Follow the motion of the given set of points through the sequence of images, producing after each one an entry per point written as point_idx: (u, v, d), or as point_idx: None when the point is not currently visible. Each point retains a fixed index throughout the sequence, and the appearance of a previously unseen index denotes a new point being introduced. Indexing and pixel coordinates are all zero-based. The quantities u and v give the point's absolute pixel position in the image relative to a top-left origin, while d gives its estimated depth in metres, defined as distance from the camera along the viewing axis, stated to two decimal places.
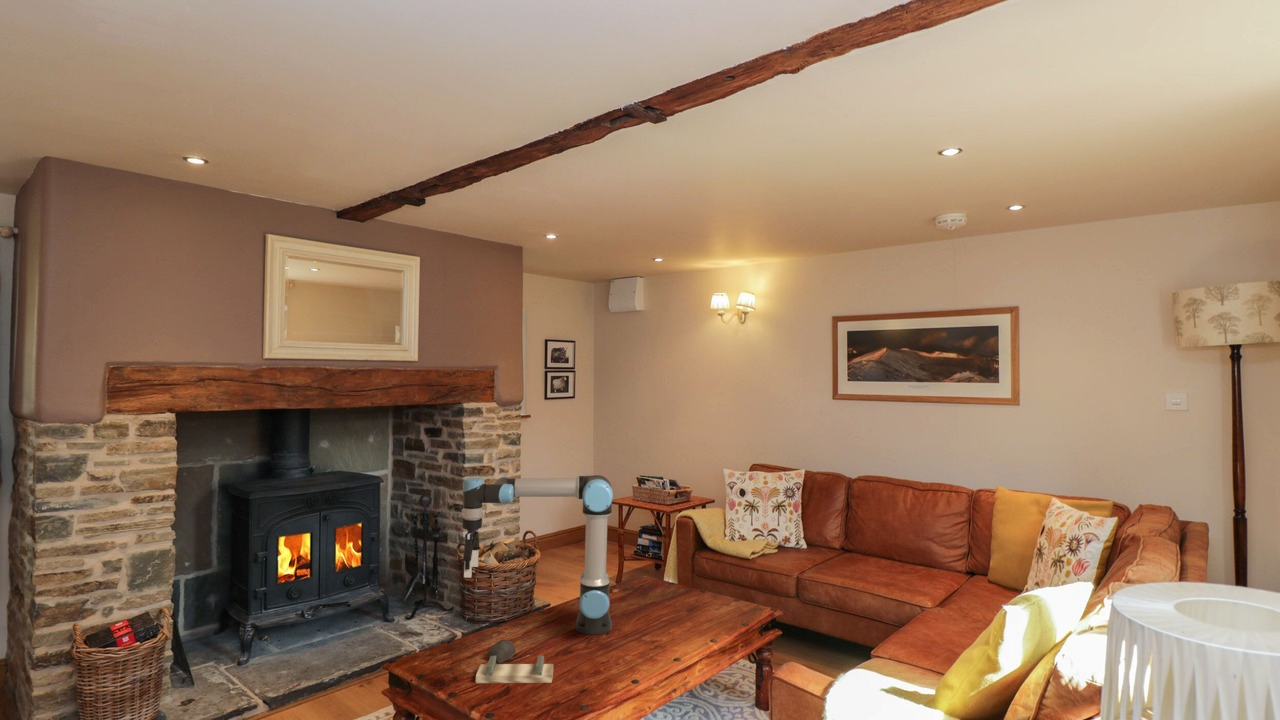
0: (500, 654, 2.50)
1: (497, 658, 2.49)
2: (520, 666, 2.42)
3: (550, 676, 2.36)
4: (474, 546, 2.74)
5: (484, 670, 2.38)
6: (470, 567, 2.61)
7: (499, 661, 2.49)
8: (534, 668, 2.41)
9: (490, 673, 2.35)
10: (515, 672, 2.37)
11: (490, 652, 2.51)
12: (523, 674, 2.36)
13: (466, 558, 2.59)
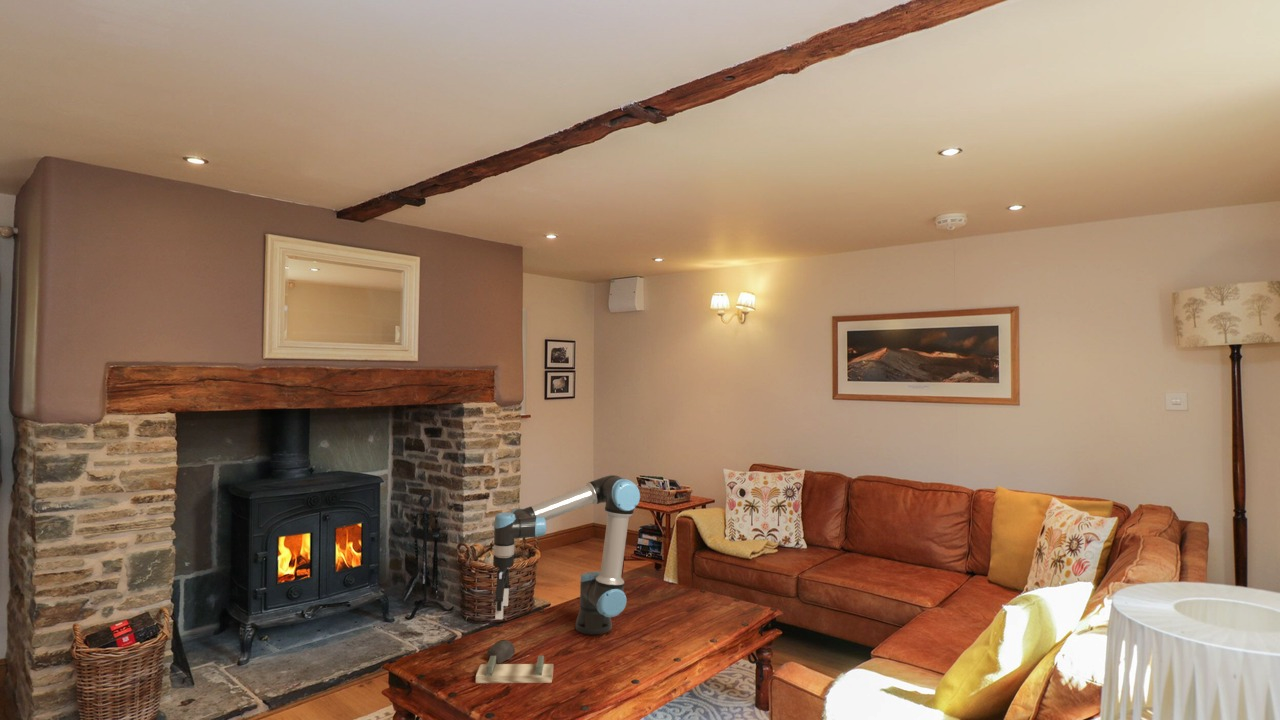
0: (500, 654, 2.50)
1: (496, 658, 2.49)
2: (520, 666, 2.42)
3: (550, 676, 2.36)
4: (504, 584, 2.60)
5: (484, 670, 2.38)
6: (502, 608, 2.47)
7: (498, 661, 2.49)
8: (534, 668, 2.41)
9: (490, 673, 2.35)
10: (515, 672, 2.37)
11: (489, 652, 2.51)
12: (523, 674, 2.36)
13: (498, 599, 2.44)
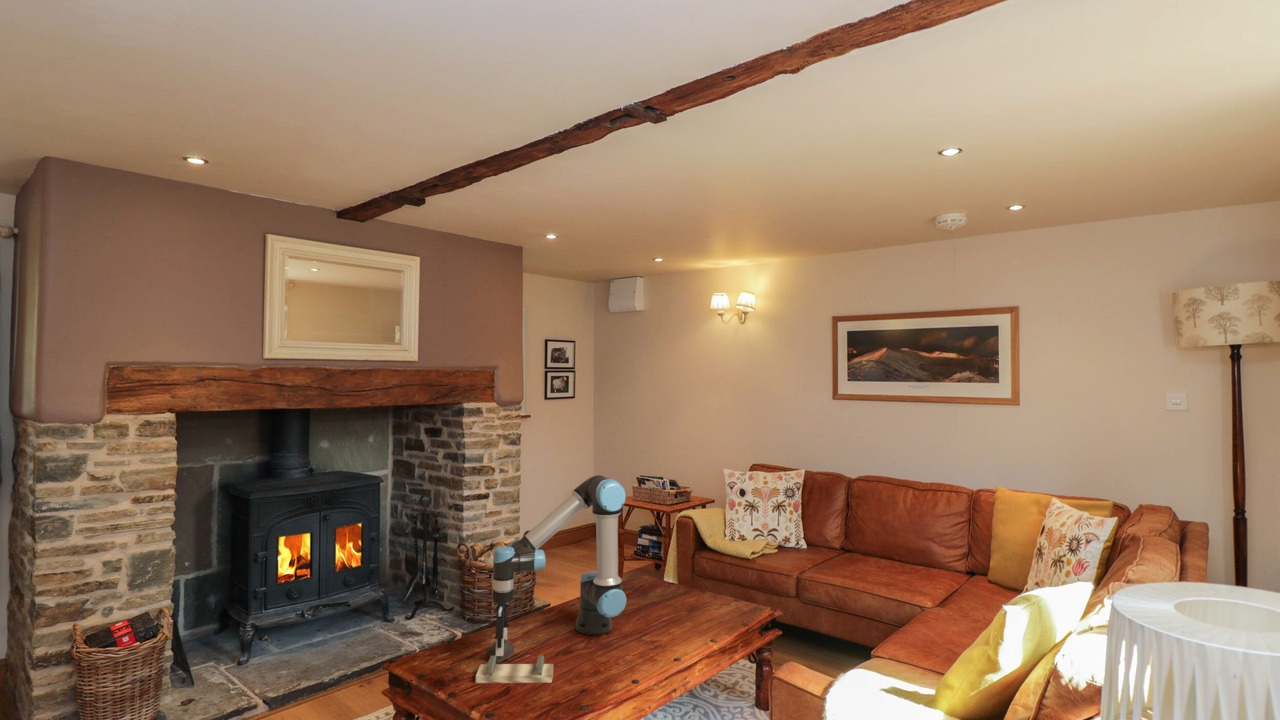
0: None
1: (496, 657, 2.49)
2: (520, 666, 2.42)
3: (550, 676, 2.36)
4: (503, 622, 2.58)
5: (484, 670, 2.38)
6: (502, 645, 2.49)
7: (497, 661, 2.49)
8: (534, 668, 2.41)
9: (490, 673, 2.35)
10: (515, 672, 2.37)
11: (489, 651, 2.51)
12: (523, 674, 2.36)
13: (498, 636, 2.46)
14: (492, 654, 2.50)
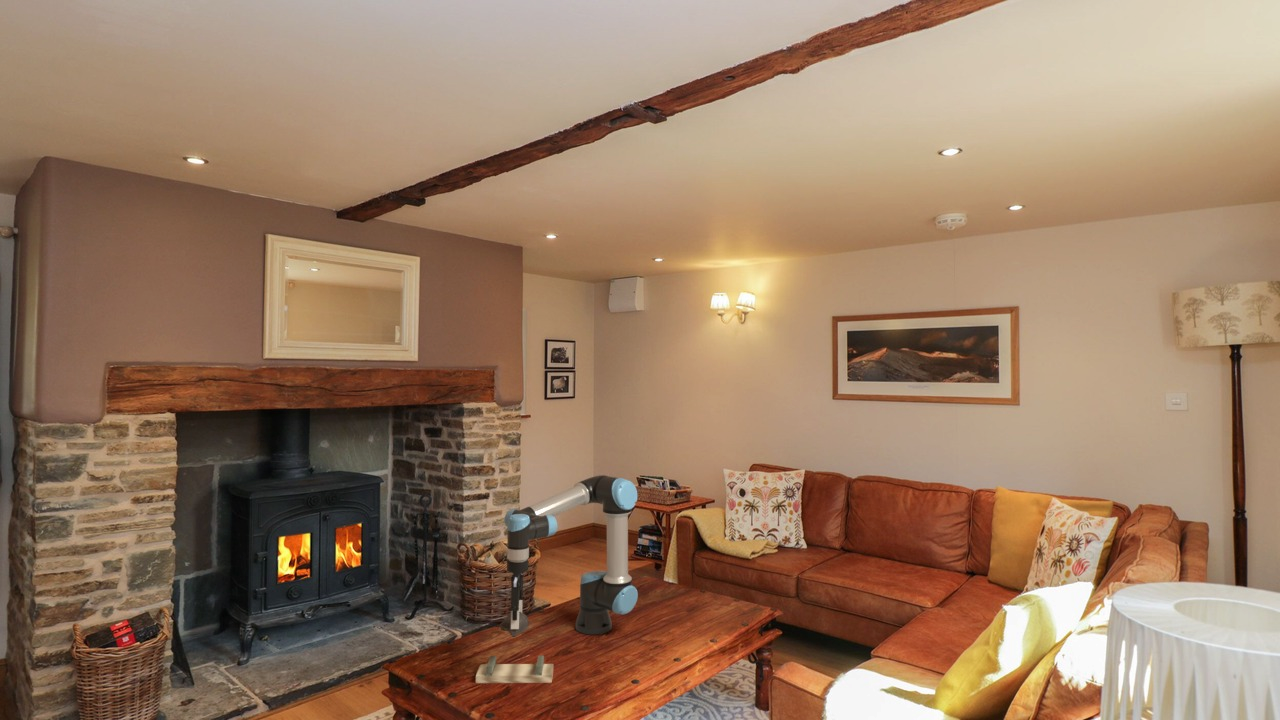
0: None
1: (510, 631, 2.35)
2: (520, 666, 2.42)
3: (550, 676, 2.36)
4: None
5: (484, 670, 2.38)
6: (517, 617, 2.35)
7: (512, 634, 2.35)
8: (534, 668, 2.41)
9: (490, 673, 2.35)
10: (515, 672, 2.37)
11: (503, 625, 2.37)
12: (523, 674, 2.36)
13: (514, 608, 2.32)
14: (507, 627, 2.36)
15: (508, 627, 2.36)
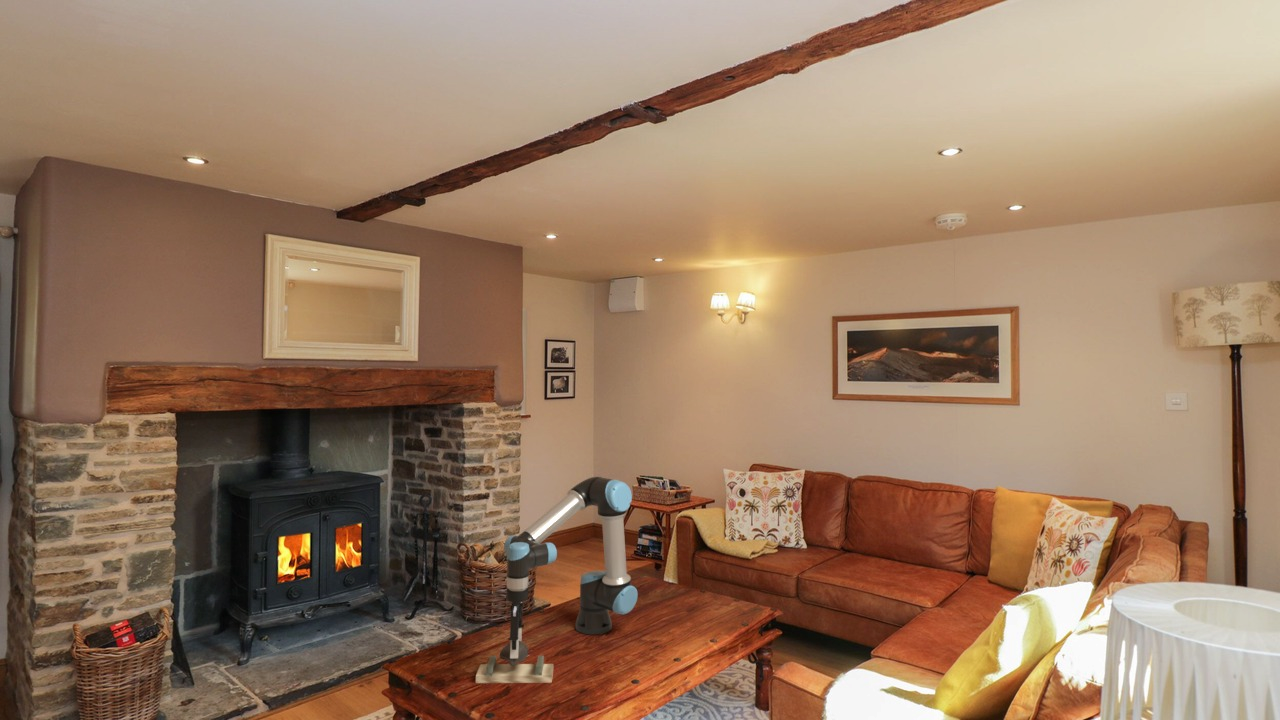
0: None
1: (510, 660, 2.35)
2: (520, 666, 2.42)
3: (550, 676, 2.36)
4: None
5: (484, 670, 2.38)
6: (517, 647, 2.35)
7: (512, 664, 2.35)
8: (534, 668, 2.41)
9: (490, 673, 2.35)
10: (515, 672, 2.37)
11: (502, 654, 2.37)
12: (523, 674, 2.36)
13: (513, 638, 2.32)
14: (506, 656, 2.36)
15: (507, 656, 2.36)
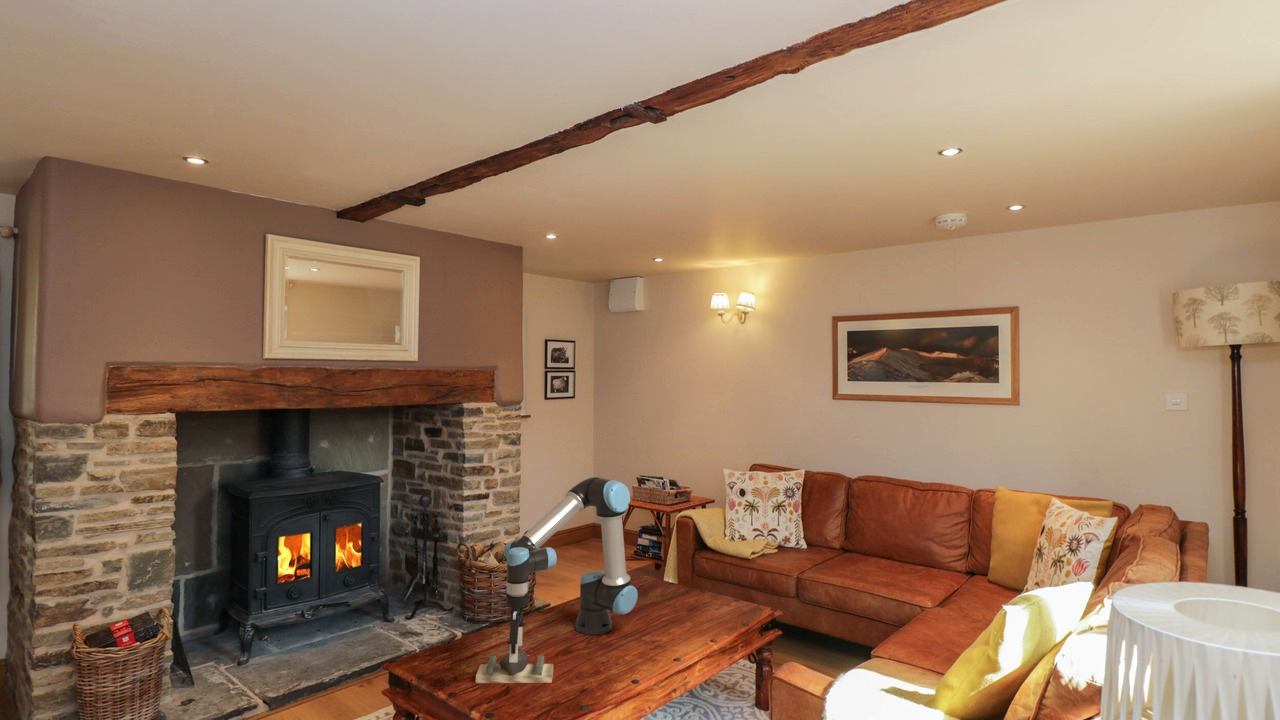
0: (513, 665, 2.36)
1: (510, 669, 2.35)
2: None
3: (550, 676, 2.36)
4: None
5: (484, 670, 2.38)
6: (516, 651, 2.33)
7: (512, 672, 2.35)
8: (534, 668, 2.41)
9: (490, 673, 2.35)
10: None
11: (502, 662, 2.37)
12: (523, 674, 2.36)
13: (512, 642, 2.30)
14: (506, 665, 2.36)
15: (507, 665, 2.35)
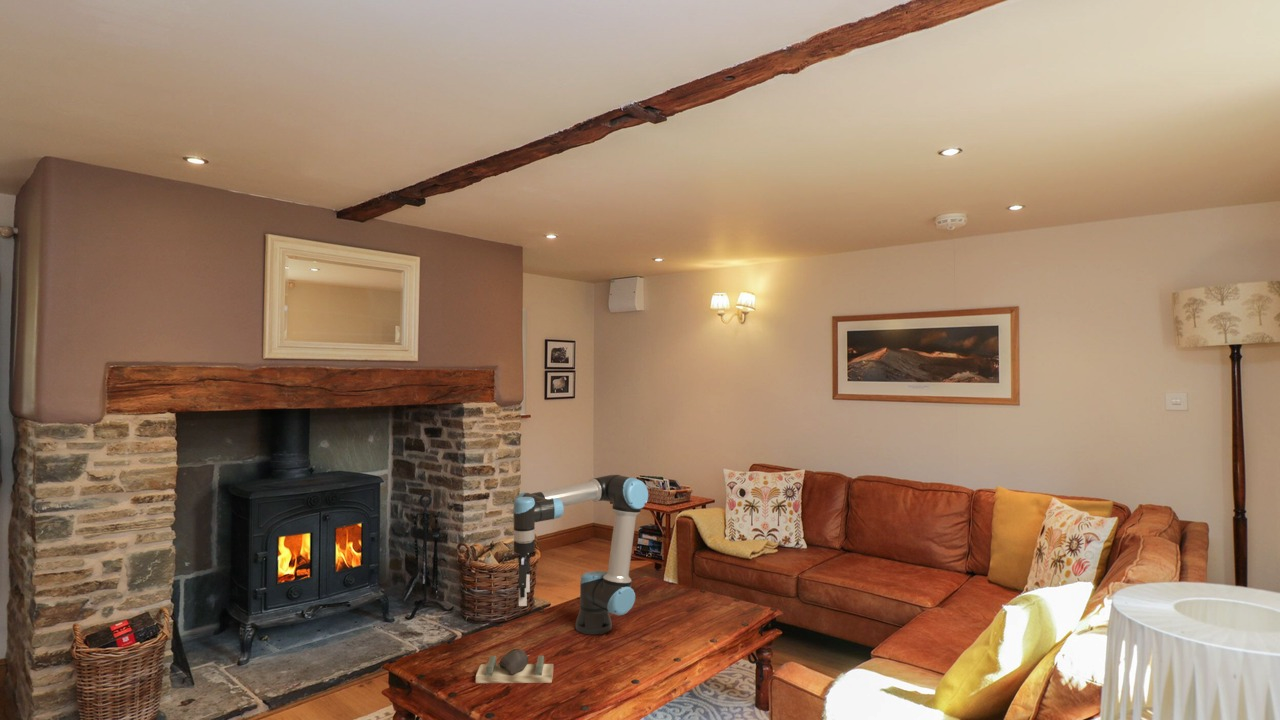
0: (513, 664, 2.36)
1: (509, 669, 2.35)
2: None
3: (550, 676, 2.36)
4: None
5: (484, 670, 2.38)
6: (525, 595, 2.40)
7: (511, 672, 2.35)
8: (534, 668, 2.41)
9: (490, 673, 2.35)
10: None
11: (502, 662, 2.37)
12: (523, 674, 2.36)
13: (521, 585, 2.38)
14: (506, 665, 2.36)
15: (507, 665, 2.36)
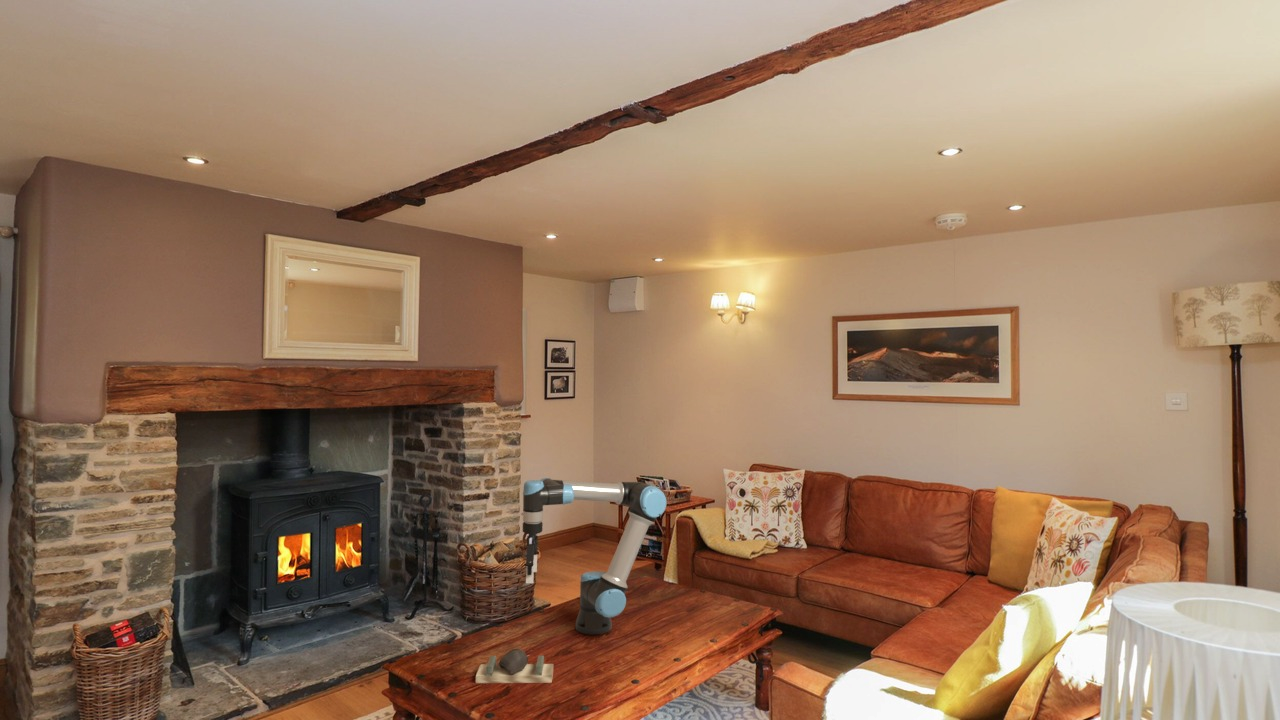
0: (513, 664, 2.36)
1: (509, 668, 2.35)
2: None
3: (550, 676, 2.36)
4: None
5: (484, 670, 2.38)
6: (532, 572, 2.53)
7: (511, 672, 2.35)
8: (534, 668, 2.41)
9: (490, 673, 2.35)
10: None
11: (502, 662, 2.37)
12: (523, 674, 2.36)
13: (529, 563, 2.50)
14: (505, 665, 2.36)
15: (507, 665, 2.36)
